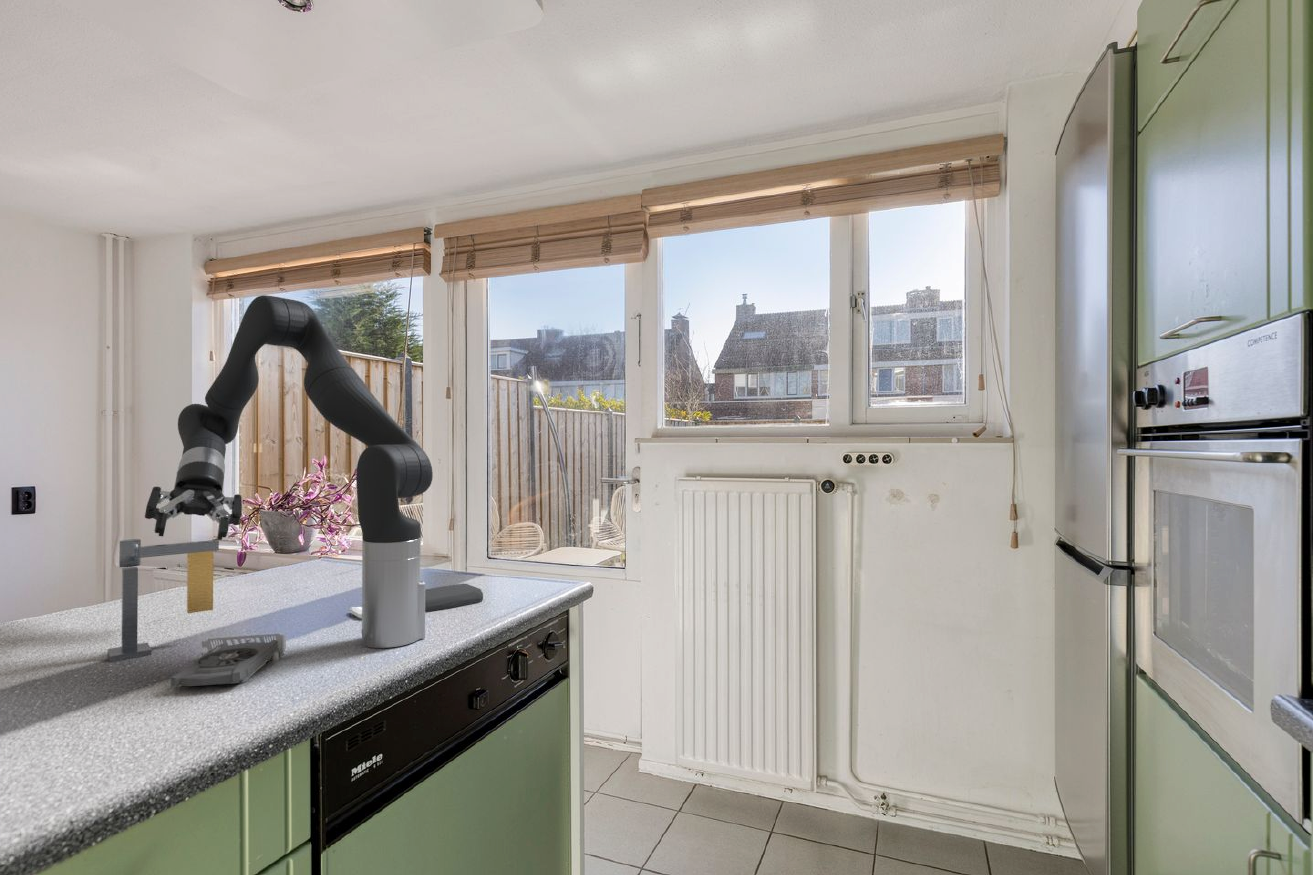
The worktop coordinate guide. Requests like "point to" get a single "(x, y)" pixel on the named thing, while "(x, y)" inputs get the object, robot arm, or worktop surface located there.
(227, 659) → the graphics card
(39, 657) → the worktop surface
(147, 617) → the worktop surface
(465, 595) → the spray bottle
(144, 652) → the mast
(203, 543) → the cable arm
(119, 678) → the worktop surface
